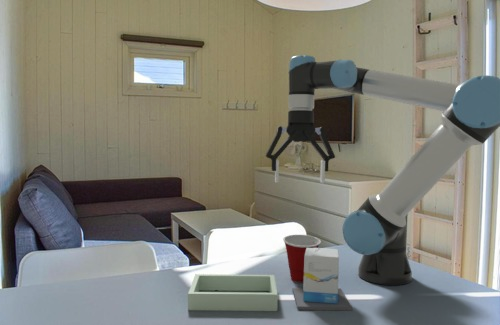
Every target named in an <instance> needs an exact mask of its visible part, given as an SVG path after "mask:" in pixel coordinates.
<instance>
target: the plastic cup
mask: <svg viewBox="0 0 500 325" xmlns="http://www.w3.org/2000/svg"><path fill="white" fill-rule="evenodd" d="M283 242H284V246H285V250H286V255H287V256H286V257H287V262H288V268H289V274H290V275H289V276H290V278H291V280H292V281H293V282H296V283H304V256H305V252H306V248H320V247H319V246H320V245H321V243H322V241H321V238H319V237H315V236H313V235H307V234H289V235H287V236H285V237H283Z"/></svg>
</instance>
